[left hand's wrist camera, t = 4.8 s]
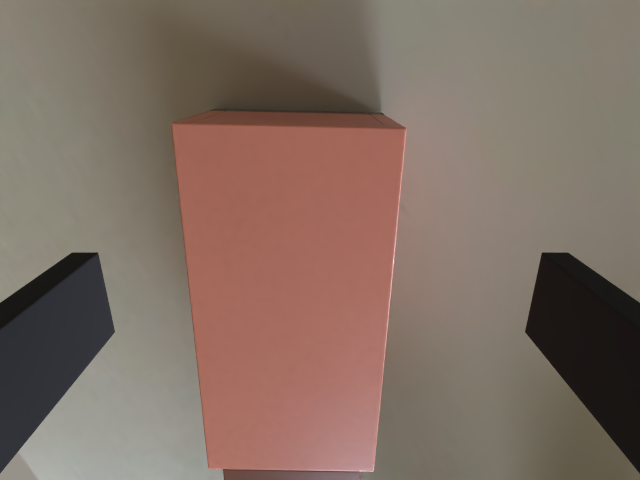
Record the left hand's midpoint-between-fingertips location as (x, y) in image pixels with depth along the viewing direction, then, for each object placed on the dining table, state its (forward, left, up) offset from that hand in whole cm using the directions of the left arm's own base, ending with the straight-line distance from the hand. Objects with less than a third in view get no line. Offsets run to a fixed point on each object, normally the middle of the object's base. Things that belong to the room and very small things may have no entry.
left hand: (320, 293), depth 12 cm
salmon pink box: (+5, -4, -15) cm, 16 cm away
